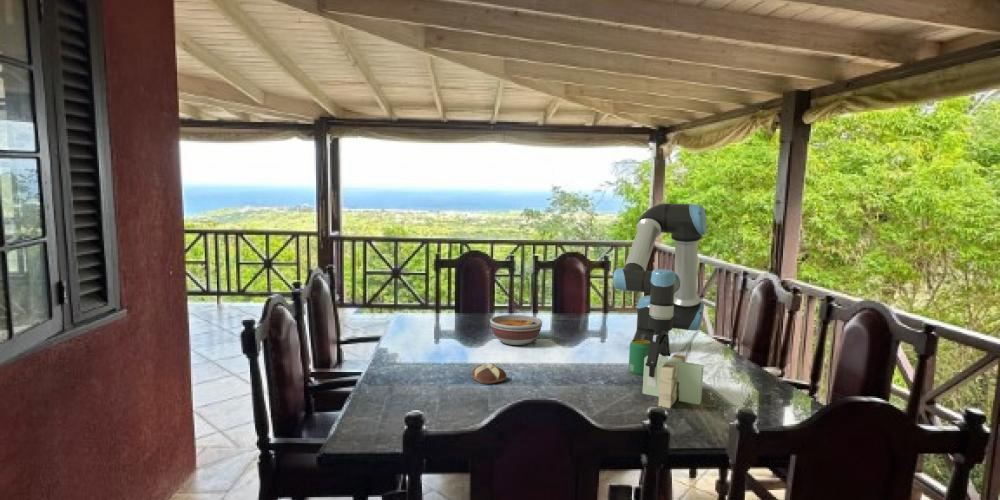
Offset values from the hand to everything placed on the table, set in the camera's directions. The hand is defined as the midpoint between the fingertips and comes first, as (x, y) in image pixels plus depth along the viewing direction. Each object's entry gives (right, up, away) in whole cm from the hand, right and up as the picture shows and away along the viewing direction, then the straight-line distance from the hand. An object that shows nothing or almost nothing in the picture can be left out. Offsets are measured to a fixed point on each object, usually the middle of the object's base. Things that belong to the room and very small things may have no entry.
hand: (657, 380), depth 180 cm
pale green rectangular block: (+4, -5, -2) cm, 7 cm away
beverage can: (0, -3, +23) cm, 23 cm away
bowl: (-45, +2, +61) cm, 76 cm away
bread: (-56, -3, +11) cm, 57 cm away
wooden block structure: (+4, -5, -2) cm, 7 cm away
